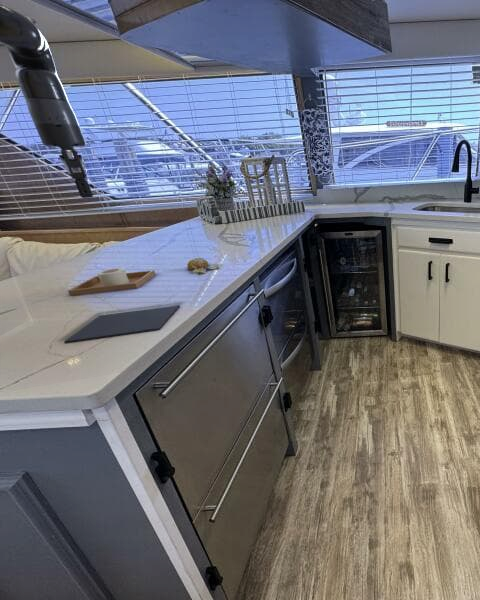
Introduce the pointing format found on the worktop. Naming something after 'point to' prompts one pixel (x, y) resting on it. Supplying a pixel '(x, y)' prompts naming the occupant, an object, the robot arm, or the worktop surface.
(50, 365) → the worktop surface
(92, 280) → the tray
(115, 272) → the tape
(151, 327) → the mat
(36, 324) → the worktop surface
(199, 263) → the turtle figurine
